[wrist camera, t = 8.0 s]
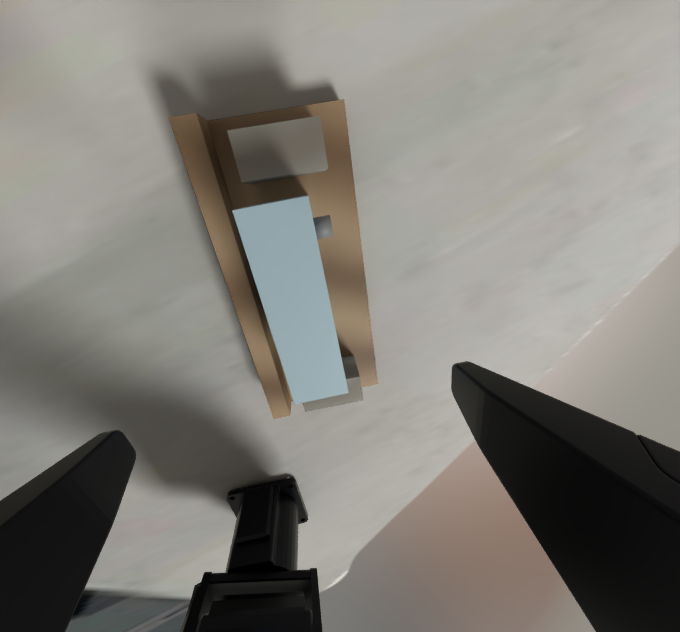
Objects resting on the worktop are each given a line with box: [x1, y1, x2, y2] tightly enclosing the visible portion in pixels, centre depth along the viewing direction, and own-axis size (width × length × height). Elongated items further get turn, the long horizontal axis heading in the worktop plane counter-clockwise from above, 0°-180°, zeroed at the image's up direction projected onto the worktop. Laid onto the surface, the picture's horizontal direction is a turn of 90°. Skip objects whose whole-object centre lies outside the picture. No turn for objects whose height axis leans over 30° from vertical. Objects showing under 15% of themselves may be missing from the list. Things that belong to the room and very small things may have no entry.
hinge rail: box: [169, 99, 378, 419], centre depth 17 cm, size 18×8×4 cm, turn 9°
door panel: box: [232, 195, 349, 404], centre depth 15 cm, size 10×4×5 cm, turn 10°
